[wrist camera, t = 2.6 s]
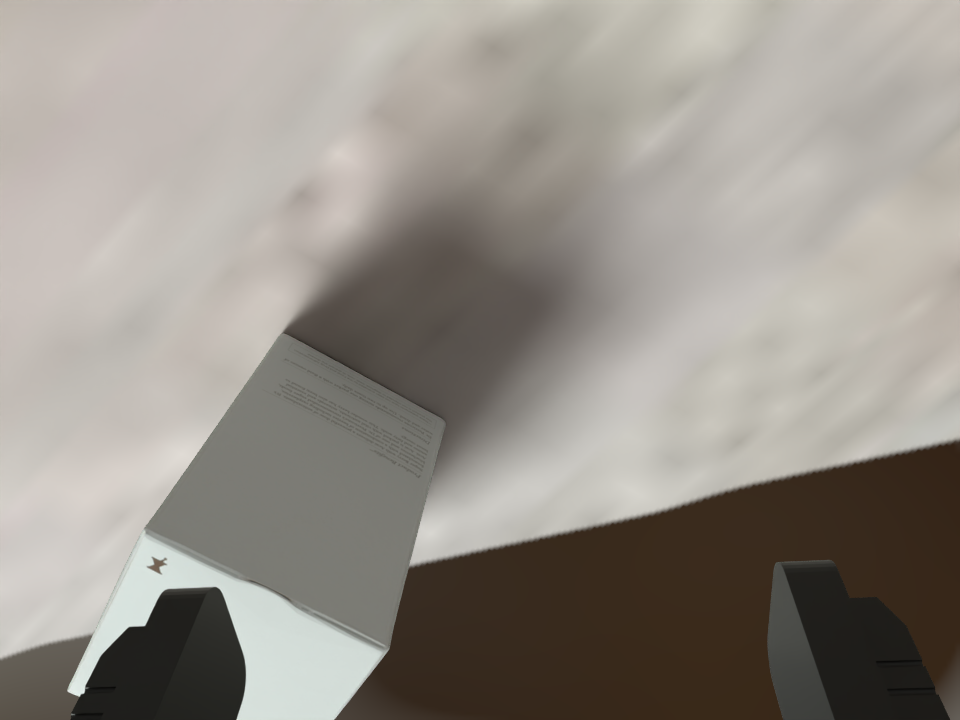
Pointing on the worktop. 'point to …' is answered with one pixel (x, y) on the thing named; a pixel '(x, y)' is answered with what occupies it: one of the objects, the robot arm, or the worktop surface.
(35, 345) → the worktop surface
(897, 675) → the robot arm
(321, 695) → the supplement box
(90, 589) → the worktop surface
